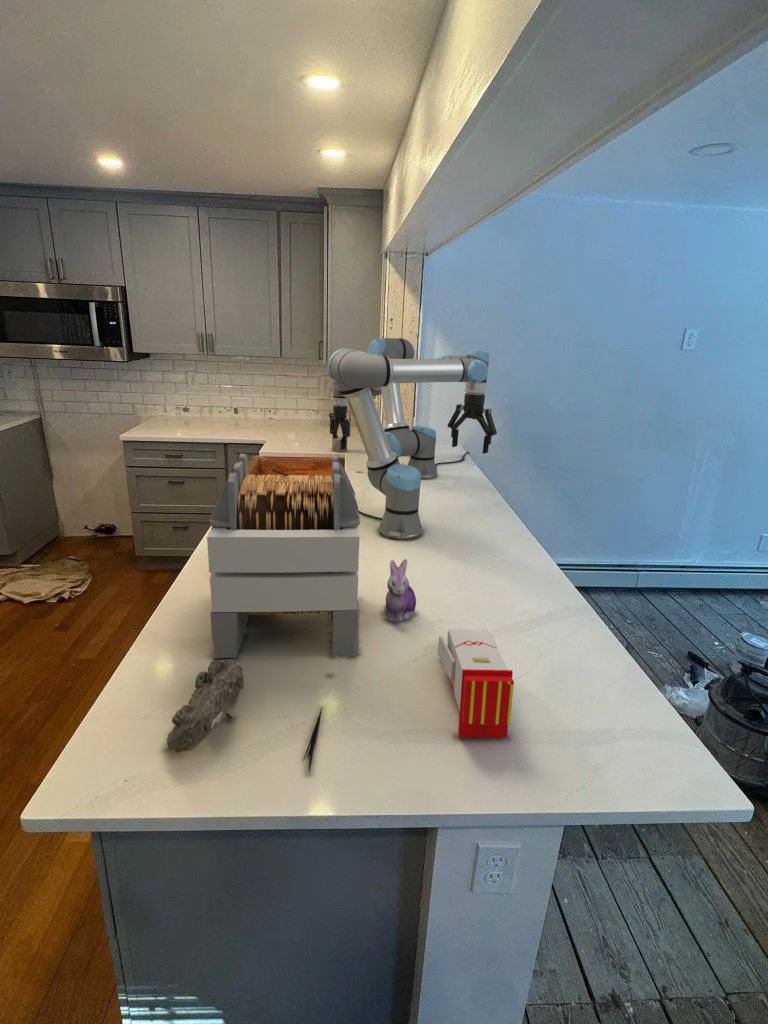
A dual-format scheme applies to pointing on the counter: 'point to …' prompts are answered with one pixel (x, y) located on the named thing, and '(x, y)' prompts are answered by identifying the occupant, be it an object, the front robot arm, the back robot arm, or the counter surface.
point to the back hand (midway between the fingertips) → (339, 448)
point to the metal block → (337, 444)
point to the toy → (478, 682)
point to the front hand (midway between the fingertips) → (469, 449)
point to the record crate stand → (284, 553)
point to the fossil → (206, 705)
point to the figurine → (399, 594)
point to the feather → (313, 740)
